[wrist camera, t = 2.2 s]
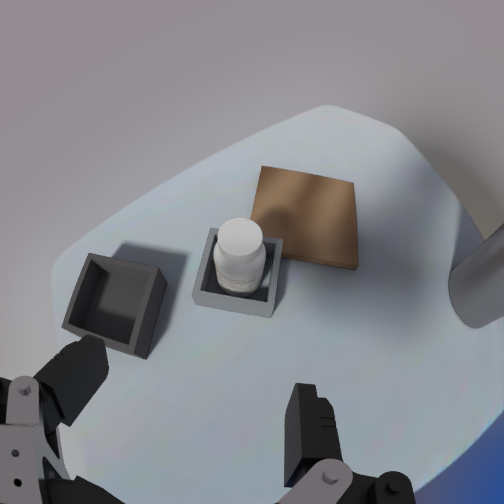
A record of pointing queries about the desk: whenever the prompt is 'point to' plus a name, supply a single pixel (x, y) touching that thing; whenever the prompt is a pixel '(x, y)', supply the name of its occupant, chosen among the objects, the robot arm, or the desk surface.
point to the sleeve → (229, 302)
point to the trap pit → (116, 303)
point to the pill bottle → (239, 257)
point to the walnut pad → (308, 216)
